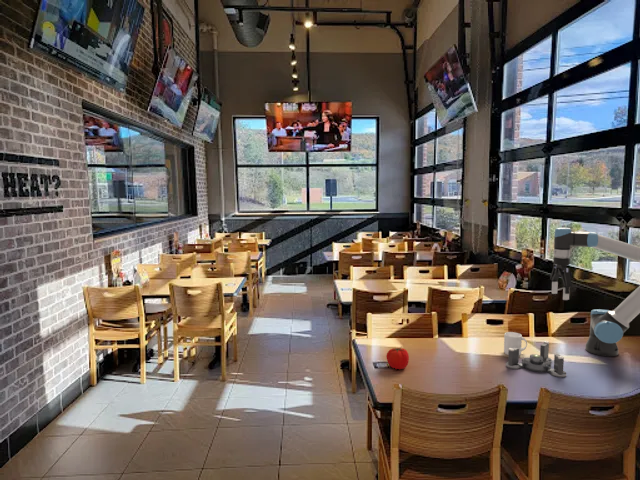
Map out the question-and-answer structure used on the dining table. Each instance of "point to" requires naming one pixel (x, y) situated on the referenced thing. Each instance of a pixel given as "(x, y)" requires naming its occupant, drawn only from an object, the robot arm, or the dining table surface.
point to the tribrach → (537, 365)
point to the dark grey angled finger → (513, 356)
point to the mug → (513, 341)
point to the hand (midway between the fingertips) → (560, 296)
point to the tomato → (397, 358)
